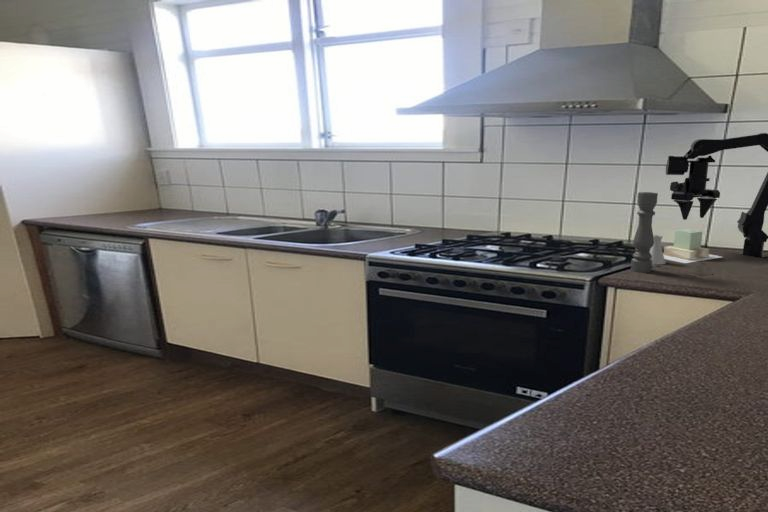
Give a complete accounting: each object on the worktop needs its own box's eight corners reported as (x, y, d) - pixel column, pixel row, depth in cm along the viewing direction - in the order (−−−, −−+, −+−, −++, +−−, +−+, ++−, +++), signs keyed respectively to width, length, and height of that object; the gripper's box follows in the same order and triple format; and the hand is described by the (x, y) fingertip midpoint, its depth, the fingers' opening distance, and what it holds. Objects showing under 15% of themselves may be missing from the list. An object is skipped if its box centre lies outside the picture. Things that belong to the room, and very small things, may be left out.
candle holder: (655, 270, 177) (663, 193, 172) (643, 273, 174) (650, 194, 169) (638, 267, 182) (645, 191, 177) (626, 269, 179) (632, 192, 174)
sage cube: (684, 245, 196) (686, 229, 195) (700, 248, 191) (702, 231, 190) (673, 247, 194) (675, 230, 192) (689, 250, 188) (691, 232, 187)
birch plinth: (682, 252, 199) (683, 244, 199) (708, 257, 191) (709, 248, 190) (663, 255, 195) (664, 246, 195) (689, 260, 186) (690, 251, 186)
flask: (670, 267, 181) (673, 237, 179) (648, 267, 182) (651, 237, 180) (660, 262, 189) (663, 233, 186) (639, 262, 189) (641, 234, 187)
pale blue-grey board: (686, 252, 203) (686, 249, 203) (723, 259, 191) (723, 256, 191) (648, 258, 195) (648, 255, 195) (684, 266, 183) (684, 263, 183)
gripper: (694, 173, 206) (689, 214, 210) (659, 175, 198) (656, 217, 202) (723, 174, 196) (718, 217, 200) (688, 176, 189) (683, 221, 192)
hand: (693, 218), depth 199 cm, fingers open, 9 cm apart
